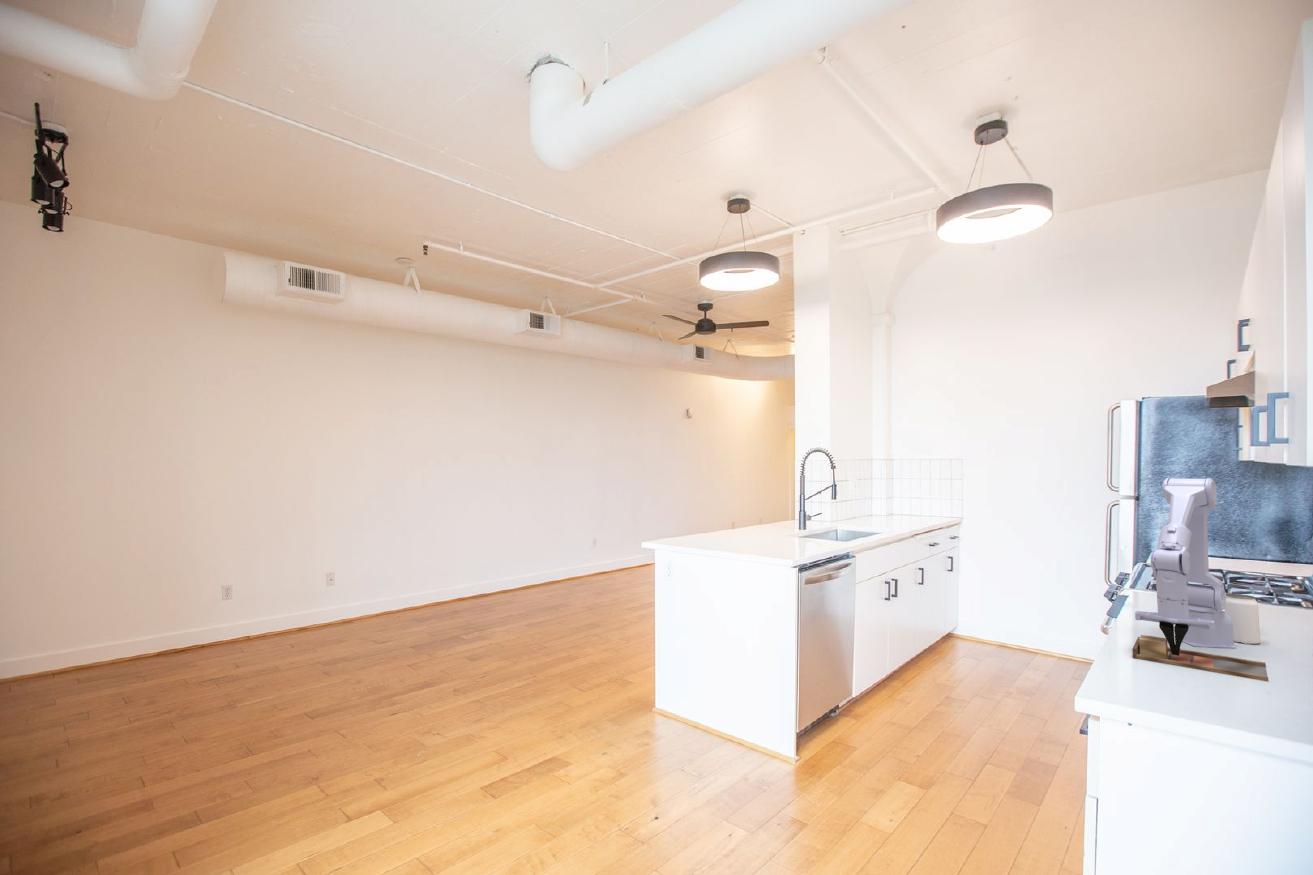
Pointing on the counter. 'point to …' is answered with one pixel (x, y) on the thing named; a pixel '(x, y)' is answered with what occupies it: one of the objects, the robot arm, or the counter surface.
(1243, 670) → the tray
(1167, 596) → the robot arm
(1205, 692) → the counter surface
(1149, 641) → the block
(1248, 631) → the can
